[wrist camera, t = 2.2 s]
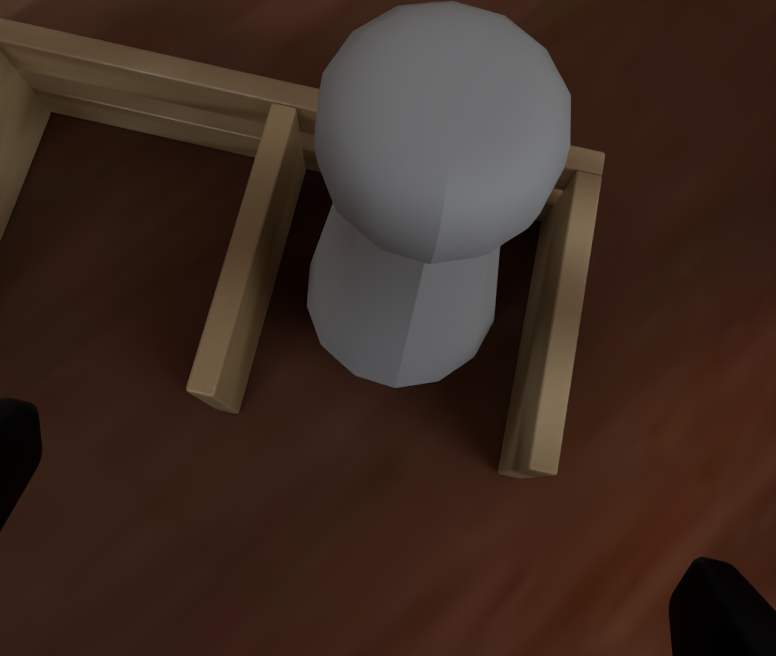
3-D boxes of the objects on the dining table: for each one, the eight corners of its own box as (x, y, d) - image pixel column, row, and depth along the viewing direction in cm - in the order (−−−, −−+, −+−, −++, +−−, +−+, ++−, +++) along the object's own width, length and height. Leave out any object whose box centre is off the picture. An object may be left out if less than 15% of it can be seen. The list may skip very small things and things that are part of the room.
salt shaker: (276, 316, 22) (175, 87, 10) (390, 203, 24) (430, -129, 11) (404, 435, 22) (471, 350, 9) (515, 311, 23) (711, 86, 10)
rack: (521, 479, 22) (557, 475, 18) (-66, 346, 22) (-158, 313, 18) (565, 207, 24) (606, 151, 20) (38, 89, 24) (-23, 11, 20)
